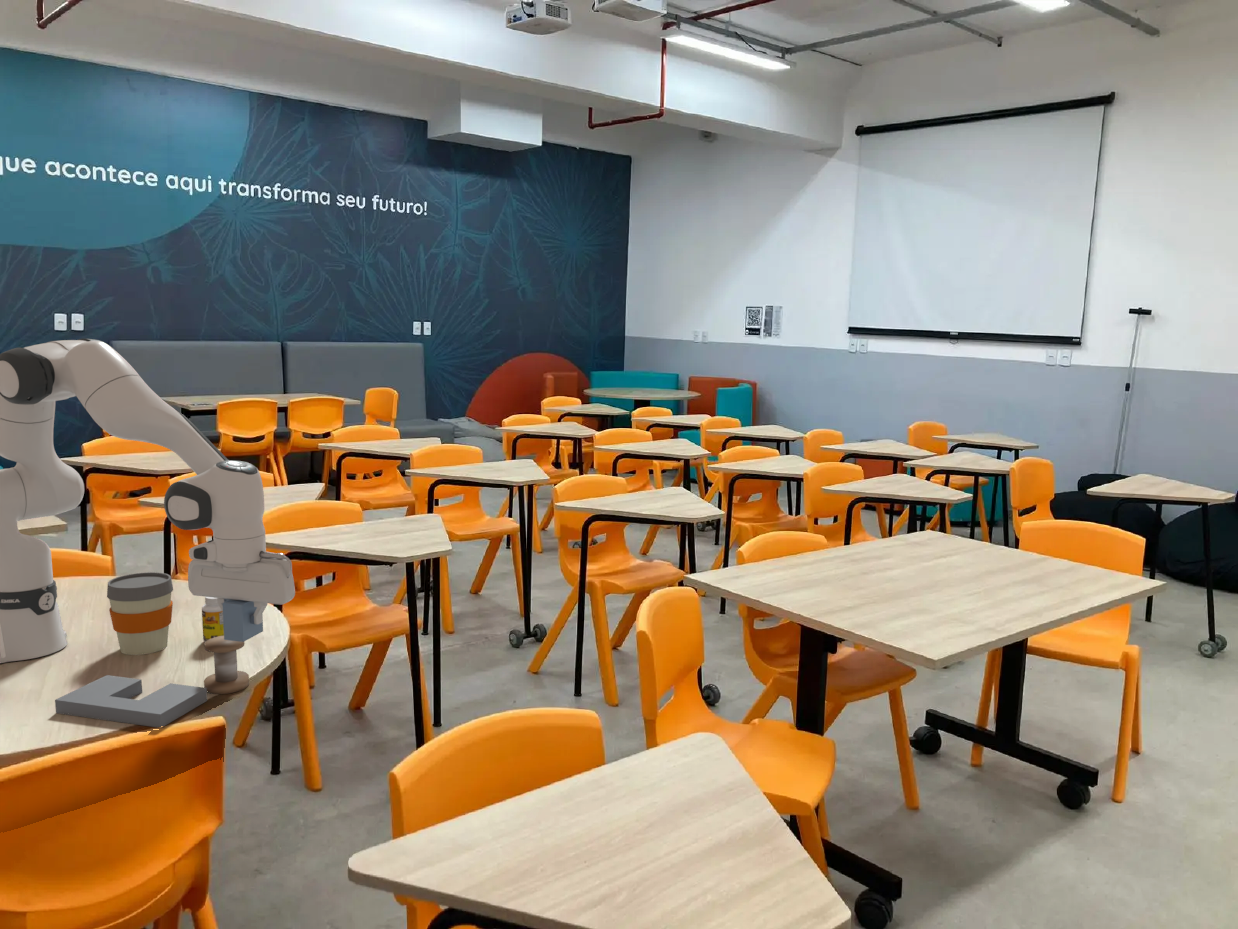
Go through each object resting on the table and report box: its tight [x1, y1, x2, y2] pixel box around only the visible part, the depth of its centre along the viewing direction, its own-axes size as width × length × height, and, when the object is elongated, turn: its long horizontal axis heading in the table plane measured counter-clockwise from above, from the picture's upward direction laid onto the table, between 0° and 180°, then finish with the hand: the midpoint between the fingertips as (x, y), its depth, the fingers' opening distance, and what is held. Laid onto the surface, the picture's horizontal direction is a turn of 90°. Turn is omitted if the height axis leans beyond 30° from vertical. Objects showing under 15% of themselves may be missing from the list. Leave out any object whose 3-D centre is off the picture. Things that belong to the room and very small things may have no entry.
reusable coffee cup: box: [106, 571, 174, 656], centre depth 196 cm, size 12×13×15 cm
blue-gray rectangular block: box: [223, 599, 264, 643], centre depth 170 cm, size 4×6×7 cm, turn 167°
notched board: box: [54, 674, 208, 728], centre depth 167 cm, size 22×12×2 cm, turn 76°
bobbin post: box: [203, 636, 250, 695], centre depth 177 cm, size 8×8×9 cm
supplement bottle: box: [201, 597, 224, 643], centre depth 201 cm, size 6×6×10 cm
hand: (243, 621), depth 170 cm, fingers closed on blue-gray rectangular block, 4 cm apart
